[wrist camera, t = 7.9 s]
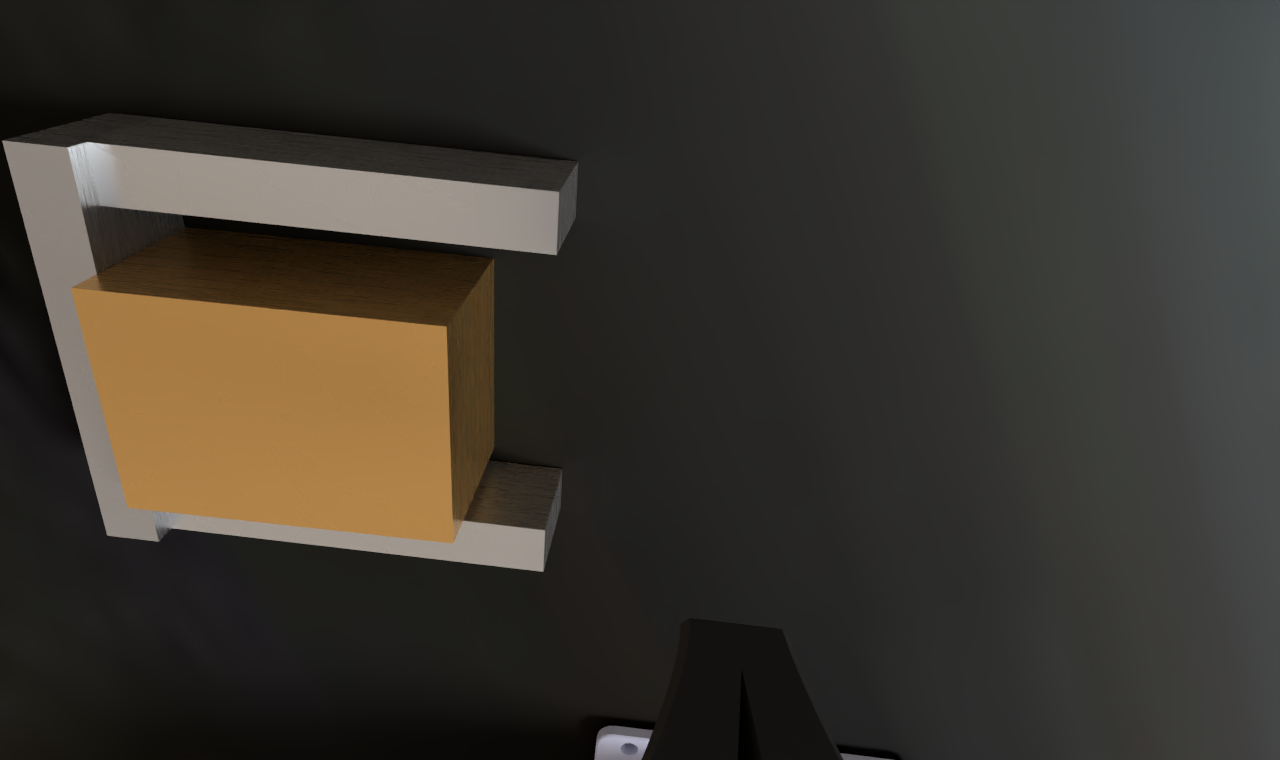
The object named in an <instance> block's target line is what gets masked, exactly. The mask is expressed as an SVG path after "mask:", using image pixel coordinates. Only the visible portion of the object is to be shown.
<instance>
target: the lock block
mask: <svg viewBox="0 0 1280 760" xmlns="http://www.w3.org/2000/svg"><path fill="white" fill-rule="evenodd" d="M71 291H72V295H73V299H74V303H75V306H76V310H77V314H78V318H79V322H80V326H81V330H82V334H83V337H84V341H85V345H86V349H87V353H88V357H89V361H90V365H91V368H92V372H93V376H94V380H95V384H96V388H97V392H98V396H99V399H100V403H101V407H102V411H103V415H104V419H105V423H106V427H107V430H108V434H109V438H110V442H111V446H112V450H113V454H114V458H115V461H116V465H117V469H118V473H119V477H120V481H121V485H122V488H123V492H124V496H125V500H126V504H127V508H133V509H142V510H152V511H161V512H170V513H179V514H188V515H197V516H206V517H216V518H225V519H234V520H243V521H252V522H261V523H270V524H280V525H289V526H298V527H307V528H316V529H325V530H334V531H344V532H353V533H362V534H371V535H380V536H389V537H398V538H408V539H417V540H426V541H435V542H444V543H454V541H455V539H456V536H457V534H458V532H459V529H460V527H461V524H462V522H463V520H464V517H465V515H466V513H467V510H468V508H469V506H470V503H471V501H472V499H473V496H474V494H475V492H476V489H477V487H478V484H479V482H480V480H481V477H482V475H483V473H484V470H485V468H486V466H487V463H488V461H489V459H490V456H491V454H492V452H493V449H494V258H485V257H475V256H466V255H456V254H446V253H436V252H427V251H417V250H407V249H397V248H387V247H378V246H368V245H358V244H348V243H338V242H329V241H319V240H309V239H299V238H290V237H280V236H270V235H260V234H250V233H241V232H231V231H221V230H211V229H202V228H192V227H186V228H184V229H182V230H180V231H178V232H176V233H174V234H172V235H170V236H168V237H167V238H165V239H163V240H161V241H159V242H157V243H155V244H153V245H151V246H149V247H148V248H146V249H144V250H142V251H140V252H138V253H136V254H134V255H132V256H130V257H129V258H127V259H125V260H123V261H121V262H119V263H117V264H115V265H113V266H111V267H110V268H108V269H106V270H104V271H102V272H100V273H98V274H96V275H94V276H92V277H91V278H89V279H87V280H85V281H83V282H81V283H79V284H77V285H75V286H73V287H72V288H71Z"/></svg>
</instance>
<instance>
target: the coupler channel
mask: <svg viewBox="0 0 1280 760" xmlns="http://www.w3.org/2000/svg"><path fill="white" fill-rule="evenodd" d="M2 142H3V146H4V149H5V153H6V157H7V161H8V164H9V168H10V172H11V176H12V179H13V183H14V187H15V191H16V194H17V198H18V202H19V206H20V209H21V213H22V217H23V221H24V224H25V228H26V232H27V236H28V239H29V243H30V247H31V251H32V254H33V258H34V262H35V266H36V269H37V273H38V277H39V281H40V284H41V288H42V292H43V296H44V299H45V303H46V307H47V311H48V314H49V318H50V322H51V326H52V329H53V333H54V337H55V341H56V344H57V348H58V352H59V356H60V359H61V363H62V367H63V371H64V374H65V378H66V382H67V386H68V389H69V393H70V397H71V401H72V404H73V408H74V412H75V416H76V419H77V423H78V427H79V431H80V434H81V438H82V442H83V446H84V449H85V453H86V457H87V461H88V464H89V468H90V472H91V476H92V479H93V483H94V487H95V491H96V494H97V498H98V502H99V506H100V509H101V513H102V517H103V521H104V524H105V528H106V532H107V535H108V536H116V537H125V538H133V539H142V540H150V541H160V540H161V539H162V537H163V536H164V535H165V534H166V533H167V532H168V531H169V530H170V529H171V528H175V529H184V530H192V531H201V532H209V533H218V534H226V535H235V536H243V537H252V538H260V539H269V540H277V541H286V542H294V543H303V544H312V545H320V546H329V547H337V548H346V549H354V550H363V551H371V552H380V553H388V554H397V555H405V556H414V557H422V558H431V559H440V560H448V561H457V562H465V563H474V564H482V565H491V566H499V567H508V568H516V569H525V570H533V571H542V572H543V571H544V567H545V563H546V560H547V556H548V552H549V548H550V545H551V541H552V537H553V533H554V530H555V526H556V522H557V518H558V515H559V511H560V505H561V486H562V469H558V468H549V467H541V466H532V465H523V464H514V463H505V462H497V461H488V463H487V466H486V468H485V470H484V473H483V475H482V477H481V480H480V482H479V484H478V487H477V489H476V492H475V494H474V496H473V499H472V501H471V503H470V506H469V508H468V510H467V513H466V515H465V517H464V520H463V522H462V524H461V527H460V529H459V532H458V534H457V536H456V539H455V541H454V543H444V542H435V541H426V540H417V539H408V538H398V537H389V536H380V535H371V534H362V533H353V532H344V531H334V530H325V529H316V528H307V527H298V526H289V525H280V524H270V523H261V522H252V521H243V520H234V519H225V518H216V517H206V516H197V515H188V514H179V513H170V512H161V511H152V510H142V509H133V508H127V504H126V500H125V496H124V492H123V488H122V485H121V481H120V477H119V473H118V469H117V465H116V461H115V458H114V454H113V450H112V446H111V442H110V438H109V434H108V430H107V427H106V423H105V419H104V415H103V411H102V407H101V403H100V399H99V396H98V392H97V388H96V384H95V380H94V376H93V372H92V368H91V365H90V361H89V357H88V353H87V349H86V345H85V341H84V337H83V334H82V330H81V326H80V322H79V318H78V314H77V310H76V306H75V303H74V299H73V295H72V291H71V288H72V287H73V286H75V285H77V284H79V283H81V282H83V281H85V280H87V279H89V278H91V277H92V276H94V275H96V274H98V273H100V272H102V271H104V270H106V269H108V268H110V267H111V266H113V265H115V264H117V263H119V262H121V261H123V260H125V259H127V258H129V257H130V256H132V255H134V254H136V253H138V252H140V251H142V250H144V249H146V248H148V247H149V246H151V245H153V244H155V243H157V242H159V241H161V240H163V239H165V238H167V237H168V236H170V235H172V234H174V233H176V232H178V231H180V230H182V229H184V228H185V227H184V221H183V215H190V216H200V217H209V218H218V219H227V220H237V221H246V222H255V223H265V224H274V225H283V226H292V227H302V228H311V229H320V230H330V231H339V232H348V233H357V234H367V235H376V236H385V237H395V238H404V239H413V240H423V241H432V242H441V243H450V244H460V245H469V246H478V247H488V248H497V249H506V250H515V251H525V252H534V253H543V254H553V255H557V253H558V251H559V249H560V247H561V245H562V243H563V241H564V239H565V237H566V235H567V233H568V231H569V229H570V227H571V225H572V223H573V221H574V220H575V216H576V197H577V177H578V162H576V161H566V160H557V159H547V158H538V157H528V156H518V155H509V154H499V153H490V152H480V151H471V150H461V149H452V148H442V147H433V146H423V145H413V144H404V143H394V142H385V141H375V140H366V139H356V138H347V137H337V136H328V135H318V134H308V133H299V132H289V131H280V130H270V129H261V128H251V127H242V126H232V125H223V124H213V123H203V122H194V121H184V120H175V119H165V118H156V117H146V116H137V115H127V114H118V113H107V114H103V115H99V116H95V117H92V118H88V119H84V120H80V121H76V122H72V123H68V124H65V125H61V126H57V127H53V128H49V129H45V130H41V131H37V132H34V133H30V134H26V135H22V136H18V137H14V138H10V139H6V140H3V141H2Z"/></svg>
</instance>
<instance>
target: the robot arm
mask: <svg viewBox="0 0 1280 760" xmlns="http://www.w3.org/2000/svg"><path fill="white" fill-rule="evenodd" d="M628 743H631V744H628ZM595 760H893V759H885V758H877V757H868V756H860V755H852V754H844V753H840V752H839V750H838V748H837V746H836V744H835V742H834V740H833V738H832V736H831V734H830V732H829V730H828V728H827V726H826V724H825V722H824V720H823V718H822V715H821V713H820V711H819V709H818V707H817V704H816V702H815V700H814V698H813V696H812V694H811V691H810V689H809V687H808V684H807V682H806V680H805V678H804V675H803V673H802V670H801V668H800V665H799V663H798V660H797V658H796V655H795V653H794V650H793V647H792V645H791V642H790V639H789V637H788V636H787V634H786V633H785V632H784V631H783V630H782V629H777V628H768V627H760V626H751V625H743V624H735V623H726V622H718V621H709V620H701V619H692V618H689V619H688V620H686V621H684V622H683V623H681V624H680V629H679V636H678V643H677V650H676V657H675V664H674V669H673V673H672V677H671V680H670V683H669V686H668V690H667V693H666V696H665V700H664V702H663V705H662V708H661V711H660V713H659V716H658V718H657V721H656V724H655V726H654V729H653V730H646V729H638V728H630V727H622V726H607V727H604V728H602V729H601V730H600V731H599V732H598V735H597V740H596V749H595Z"/></svg>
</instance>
